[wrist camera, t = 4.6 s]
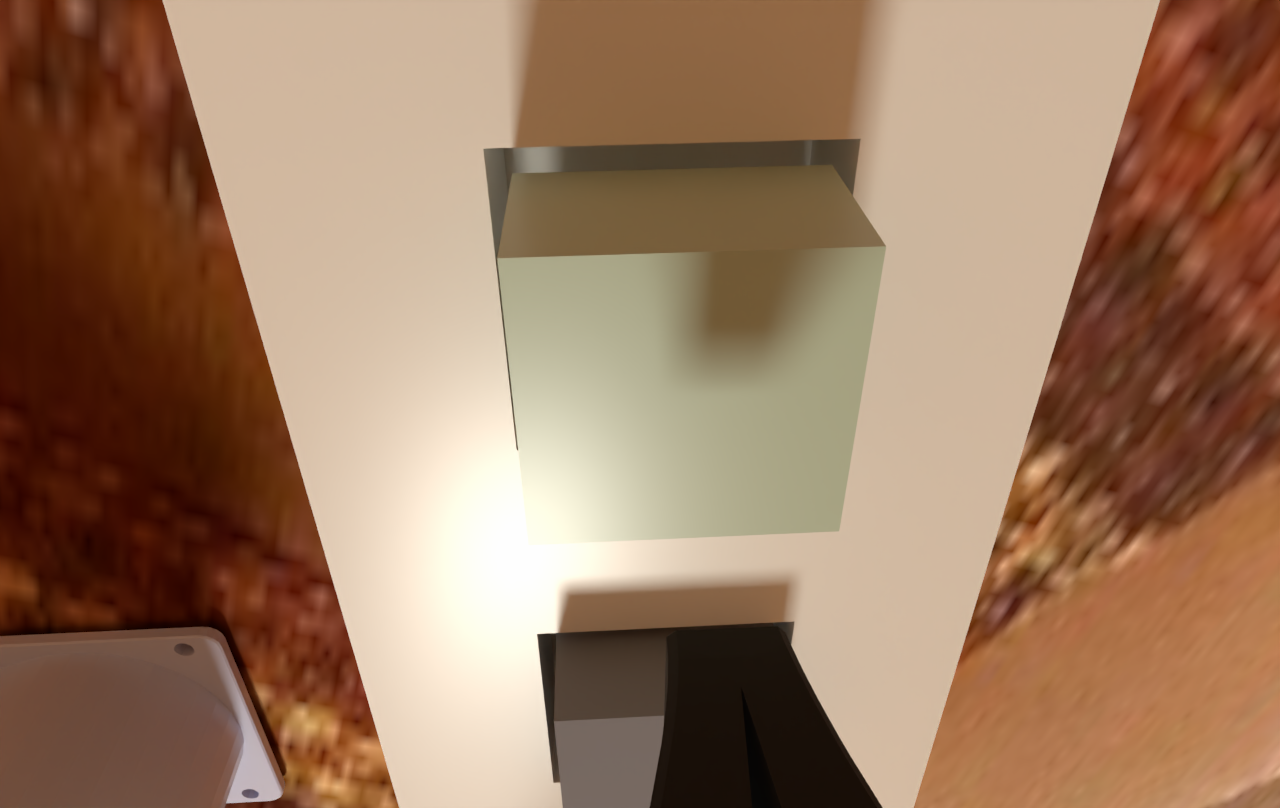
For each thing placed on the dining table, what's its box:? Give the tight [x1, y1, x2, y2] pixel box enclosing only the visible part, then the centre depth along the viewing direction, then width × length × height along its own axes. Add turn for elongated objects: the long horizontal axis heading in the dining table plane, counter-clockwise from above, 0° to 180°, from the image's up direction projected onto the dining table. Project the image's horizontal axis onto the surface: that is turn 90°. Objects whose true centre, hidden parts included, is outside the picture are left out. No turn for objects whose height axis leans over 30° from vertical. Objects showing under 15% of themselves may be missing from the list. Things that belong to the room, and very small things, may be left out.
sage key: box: [497, 165, 886, 545], centre depth 14 cm, size 5×5×3 cm
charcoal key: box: [554, 623, 774, 808], centre depth 21 cm, size 5×5×3 cm
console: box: [163, 0, 1160, 808], centre depth 20 cm, size 14×24×4 cm, turn 0°
